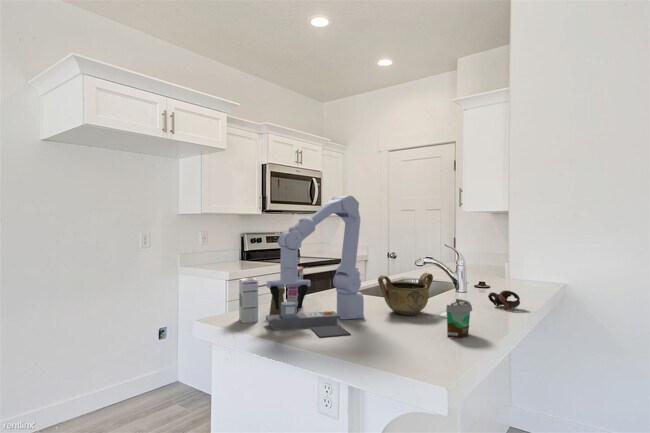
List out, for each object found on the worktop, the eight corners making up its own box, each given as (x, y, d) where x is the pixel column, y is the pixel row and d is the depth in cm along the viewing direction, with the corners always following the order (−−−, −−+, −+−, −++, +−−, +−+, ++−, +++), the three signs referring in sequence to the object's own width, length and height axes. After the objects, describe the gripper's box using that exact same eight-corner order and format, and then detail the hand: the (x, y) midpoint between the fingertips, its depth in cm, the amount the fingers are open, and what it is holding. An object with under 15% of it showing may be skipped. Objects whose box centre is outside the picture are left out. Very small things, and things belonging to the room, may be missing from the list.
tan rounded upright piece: (282, 318, 139) (283, 287, 140) (266, 317, 141) (267, 286, 141) (287, 314, 145) (288, 285, 146) (272, 313, 147) (272, 284, 147)
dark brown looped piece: (517, 308, 163) (523, 292, 159) (514, 322, 156) (520, 306, 152) (487, 298, 168) (492, 283, 164) (483, 311, 161) (488, 296, 157)
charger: (293, 317, 133) (293, 301, 133) (296, 321, 128) (296, 304, 129) (280, 318, 131) (280, 302, 132) (283, 322, 127) (283, 305, 127)
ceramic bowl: (419, 306, 161) (419, 270, 161) (444, 316, 145) (444, 275, 145) (370, 310, 154) (370, 272, 154) (390, 320, 138) (390, 278, 138)
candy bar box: (299, 312, 150) (299, 269, 150) (286, 311, 150) (286, 269, 150) (303, 305, 161) (303, 266, 161) (291, 305, 161) (291, 265, 161)
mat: (339, 326, 129) (339, 325, 129) (350, 335, 120) (350, 333, 120) (310, 328, 126) (310, 327, 126) (319, 337, 117) (319, 336, 117)
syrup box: (258, 321, 134) (259, 279, 135) (241, 323, 132) (241, 280, 132) (255, 318, 140) (255, 277, 140) (238, 319, 137) (238, 278, 138)
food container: (467, 342, 114) (467, 307, 114) (446, 338, 117) (446, 305, 117) (475, 332, 124) (476, 300, 125) (456, 329, 128) (456, 298, 128)
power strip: (333, 319, 139) (333, 308, 139) (339, 324, 132) (340, 313, 132) (265, 324, 131) (265, 313, 131) (269, 329, 125) (269, 317, 125)
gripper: (306, 265, 136) (306, 304, 136) (265, 266, 132) (264, 307, 132) (312, 268, 130) (311, 309, 129) (268, 269, 125) (268, 311, 125)
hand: (288, 308), depth 130 cm, fingers open, 7 cm apart
